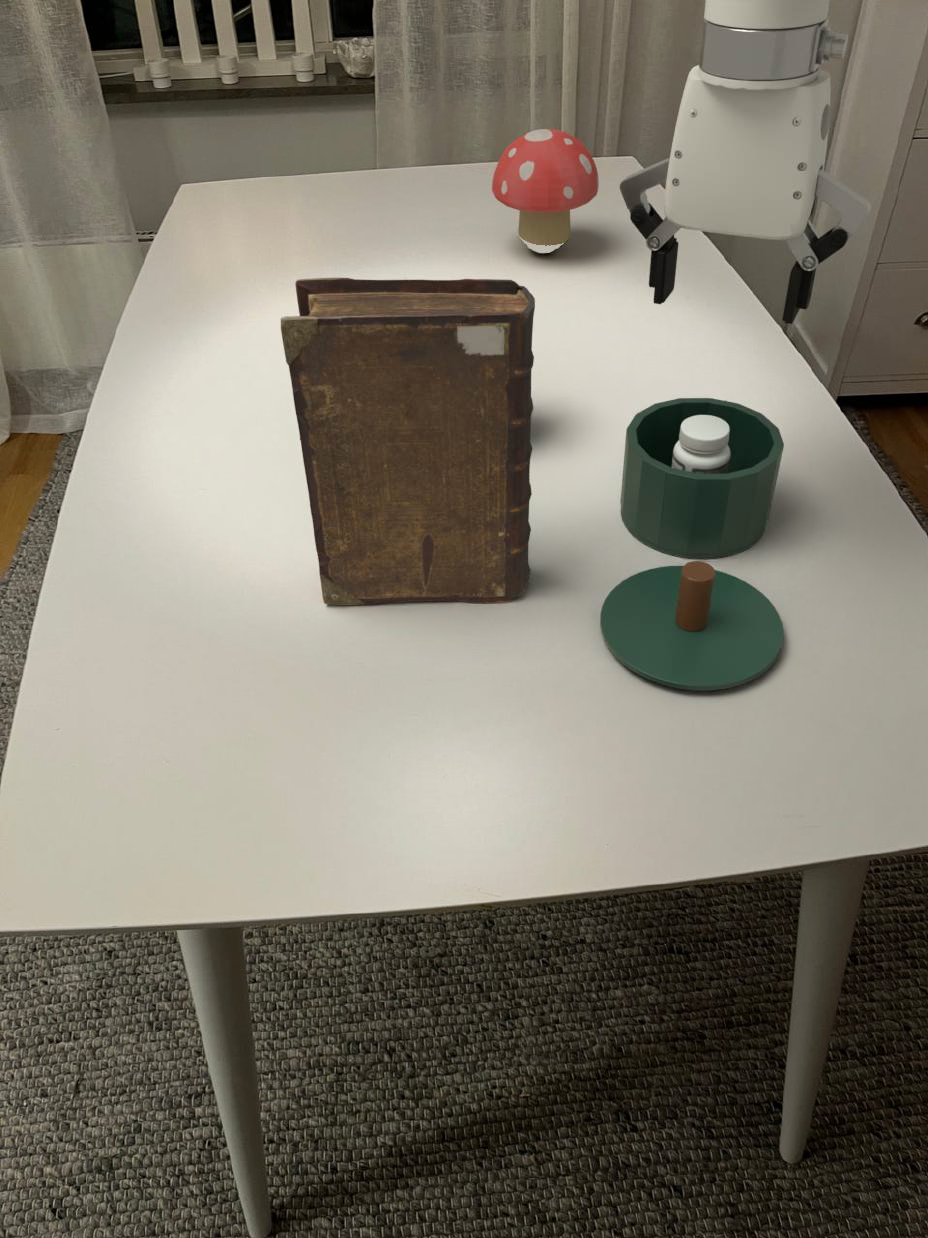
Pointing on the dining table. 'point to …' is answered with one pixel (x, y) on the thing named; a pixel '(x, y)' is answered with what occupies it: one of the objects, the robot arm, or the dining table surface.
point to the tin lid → (691, 627)
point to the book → (415, 435)
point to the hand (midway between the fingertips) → (726, 306)
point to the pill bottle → (702, 446)
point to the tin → (699, 481)
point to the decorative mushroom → (545, 183)
